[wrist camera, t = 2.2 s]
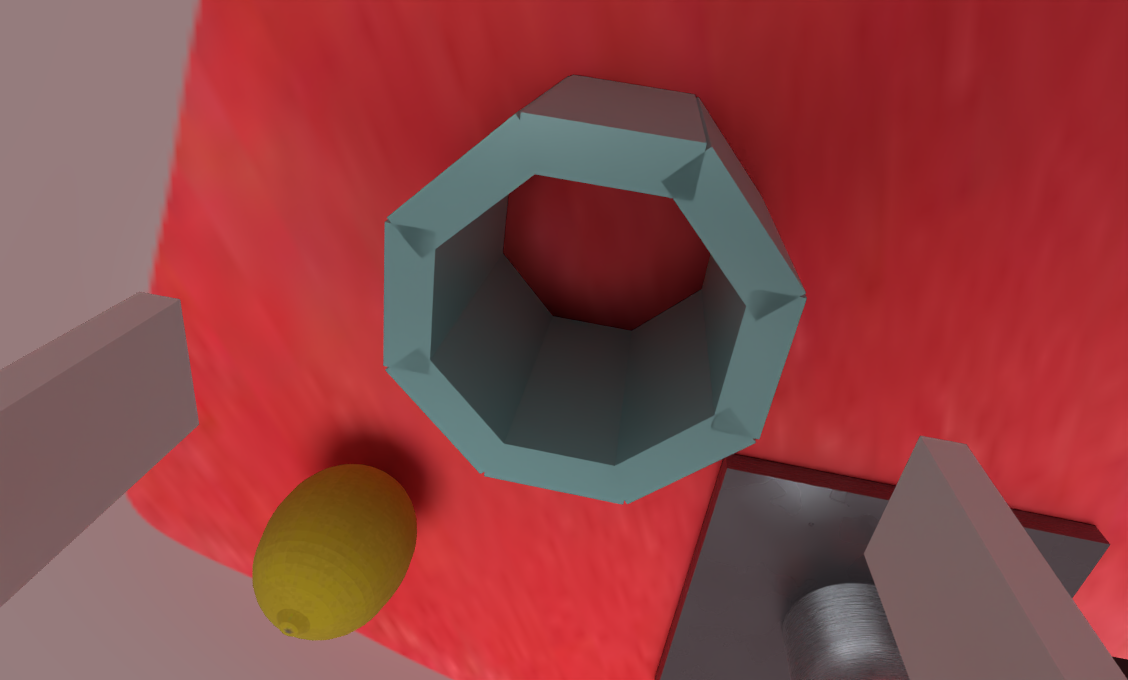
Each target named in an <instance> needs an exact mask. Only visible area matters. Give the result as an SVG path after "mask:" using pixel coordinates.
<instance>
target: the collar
mask: <svg viewBox="0 0 1128 680" xmlns="http://www.w3.org/2000/svg"><path fill="white" fill-rule="evenodd" d="M534 174H536V175H542V176H548V177H554V178H559V179H565V180H571V181H577V182H582V183H588V184H594V185H600V186H606V187H611V188H617V189H623V190H629V191H634V192H640V193H646V194H652V195H658V196H663V197H669V198H673V199H674V201H675V202H676V204H677V205H678V207H679V208H680V210H681V211H682V212H683V214H684V215H685V217H686V218H687V220H688V221H689V223H690V224H691V226H692V227H693V229H694V230H695V232H696V233H697V234H698V236H699V237H700V239H701V240H702V242H703V243H704V245H705V246H706V248H707V249H708V251H709V252H710V258H709V262H708V266H707V270H706V274H705V278H704V282H703V286H702V289H701V290H699V291H698V292H696V293H694V294H693V295H691V296H689V297H688V298H686V299H684V300H683V301H681V302H679V303H678V304H676V305H674V306H673V307H671V308H669V309H667V310H666V311H664V312H662V313H661V314H659V315H657V316H656V317H654V318H652V319H651V320H649V321H647V322H646V323H644V324H642V325H641V326H639V327H637V328H636V329H634V330H632V331H630V330H625V329H619V328H614V327H609V326H603V325H598V324H593V323H587V322H582V321H577V320H571V319H566V318H561V317H555V316H552V314H551V313H550V312H549V311H548V309H547V308H546V307H545V306H544V304H543V303H542V302H541V301H540V299H539V298H538V297H537V295H536V294H535V293H534V292H533V290H532V289H531V288H530V287H529V285H528V284H527V283H526V282H525V280H524V279H523V278H522V277H521V275H520V274H519V273H518V272H517V270H516V269H515V268H514V267H513V265H512V264H511V263H510V261H509V260H508V259H507V258H506V256H505V255H504V254H503V246H504V236H505V225H506V215H507V205H508V195H509V193H511V192H512V191H513V190H515V189H516V188H517V187H519V186H520V185H521V184H523V183H524V182H525V181H527V180H528V179H529V178H530V177H532V176H533V175H534ZM387 218H388V220H387V221H385V245H384V363H383V366H387V369H386V371H387V373H388V374H389V375H390V376H391V377H392V378H393V379H394V380H395V381H396V382H397V383H398V385H399V386H400V387H401V388H402V389H403V390H404V391H405V392H406V393H407V394H408V395H409V397H410V398H411V399H412V400H413V401H414V402H415V403H416V404H417V405H418V406H419V407H420V409H421V410H422V411H423V412H424V413H425V414H426V415H427V416H428V417H429V418H430V419H431V421H432V422H433V423H434V424H435V425H436V426H437V427H438V428H439V429H440V430H441V432H442V433H443V434H444V435H445V436H446V437H447V438H448V439H449V440H450V441H451V442H452V444H453V445H454V446H455V447H456V448H457V449H458V450H459V451H460V452H461V453H462V454H463V456H464V457H465V458H466V459H467V460H468V461H469V462H470V463H471V464H472V465H473V466H474V468H475V469H476V470H477V471H478V472H479V473H480V474H481V473H483V472H485V474H484V476H486V477H491V478H496V479H501V480H506V481H511V482H515V483H520V484H525V485H530V486H535V487H540V488H545V489H550V490H554V491H559V492H564V493H569V494H574V495H579V496H584V497H589V498H593V499H598V500H603V501H608V502H613V503H618V504H623V503H624V500H625V502H626V503H627V504H629V503H631V502H633V501H635V500H637V499H639V498H641V497H644V496H646V495H648V494H650V493H652V492H654V491H656V490H658V489H660V488H662V487H664V486H667V485H669V484H671V483H673V482H675V481H677V480H679V479H681V478H683V477H685V476H687V475H690V474H692V473H694V472H696V471H698V470H700V469H702V468H704V467H706V466H708V465H711V464H713V463H715V462H717V461H719V460H721V459H723V458H725V457H727V456H729V455H731V454H734V453H736V452H738V451H740V450H742V449H744V448H746V447H748V446H750V445H752V444H755V443H756V441H755V439H759V438H760V435H761V433H762V430H763V427H764V424H765V421H766V418H767V415H768V412H769V409H770V406H771V403H772V400H773V397H774V394H775V391H776V388H777V385H778V382H779V379H780V376H781V373H782V370H783V367H784V364H785V361H786V358H787V356H788V353H789V350H790V347H791V344H792V341H793V338H794V335H795V332H796V329H797V326H798V323H799V320H800V317H801V314H802V311H803V308H804V305H805V302H806V299H807V298H806V295H805V294H806V292H805V289H804V287H803V285H802V283H801V281H800V279H799V276H798V274H797V272H796V270H795V268H794V266H793V263H792V261H791V259H790V257H789V255H788V252H787V250H786V248H785V246H784V244H783V242H782V239H781V237H780V235H779V233H778V231H777V229H776V226H775V224H774V222H773V220H772V218H771V215H770V213H769V211H768V209H767V207H766V205H765V202H764V200H763V198H762V196H761V195H760V193H759V192H758V190H757V188H756V187H755V185H754V184H753V182H752V180H751V179H750V177H749V176H748V174H747V173H746V171H745V169H744V168H743V166H742V165H741V163H740V162H739V160H738V158H737V157H736V155H735V154H734V152H733V150H732V149H731V147H730V146H729V144H728V143H727V141H726V139H725V138H724V136H723V135H722V133H721V132H720V130H719V128H718V127H717V125H716V124H715V122H714V121H713V119H712V117H711V116H710V114H709V113H708V111H707V109H706V108H705V106H704V105H703V103H702V102H701V100H700V98H699V97H697V98H696V97H695V94H690V93H684V92H677V91H671V90H665V89H659V88H653V87H647V86H641V85H634V84H628V83H622V82H616V81H610V80H604V79H597V78H591V77H585V76H579V75H572V76H568V77H566V78H565V79H564V80H562V81H561V82H559V83H558V84H557V85H555V86H554V87H552V88H551V89H549V90H548V91H547V92H545V93H544V94H542V95H541V96H539V97H538V98H537V99H535V100H534V101H532V102H531V103H530V104H528V105H527V106H525V107H524V108H522V109H521V110H520V111H518V112H517V113H515V114H514V115H513V116H512V117H510V118H509V119H508V120H507V121H505V122H504V123H503V124H502V125H500V126H499V127H498V128H497V129H496V130H494V131H493V132H492V133H491V134H489V135H488V136H487V137H486V138H484V139H483V140H482V141H481V142H479V143H478V144H477V145H476V146H475V147H473V148H472V149H471V150H470V151H468V152H467V153H466V154H465V155H463V156H462V157H461V158H460V159H458V160H457V161H456V162H455V163H453V164H452V165H451V166H450V167H449V168H447V169H446V170H445V171H444V172H442V173H441V174H440V175H439V176H437V177H436V178H435V179H434V180H432V181H431V182H430V183H429V184H428V185H426V186H425V187H424V188H423V189H421V190H420V191H419V192H418V193H416V194H415V195H414V196H413V197H411V198H410V199H409V200H408V201H407V202H405V203H404V204H403V205H402V206H400V207H399V208H398V209H397V210H395V211H394V212H393V213H392V214H390V215H389V216H388V217H387Z"/></svg>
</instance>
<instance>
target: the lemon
mask: <svg viewBox="0 0 1128 680" xmlns="http://www.w3.org/2000/svg"><path fill="white" fill-rule="evenodd" d="M416 538H417V522H416V515H415V511H414V508H413V505H412V501H411V499H410V498H409V496H408V494H407V493H406V491H405V489H404V488H403V487H402V486H401V485H400V484H399V483H398V482H397V481H396V479H394V478H393V477H392V476H390V475H389V474H387V473H386V472H384V471H382V470H379V469H377V468H375V467H371V466H367V465H363V464H343V465H338V466H334V467H330V468H326V469H324V470H322V471H320V472H318V473H316V474H314V475H312V476H311V477H309V478H307V479H306V480H304V481H303V482H302V483H300V484H299V485H298V486H297V487H296V488H295V489H294V490H293V491H292V492H291V493H290V494H289V495H288V496H287V497H286V498H285V499H284V500H283V502H282V503H281V504H280V505H279V506H278V508H277V509H276V510H275V512H274V513H273V515H272V517H271V518H270V520H269V522H268V524H267V526H266V528H265V530H264V533H263V535H262V538H261V540H260V542H259V545H258V547H257V550H256V553H255V557H254V562H253V588H254V592H255V595H256V598H257V602H258V604H259V606H260V608H261V609H262V611H263V613H264V614H265V616H266V617H267V618H268V619H269V620H270V621H271V622H272V623H273V624H274V625H275V626H276V627H277V628H279V629H280V631H281V632H282V633H283V634H285V635H287V636H294V637H297V638H301V639H307V640H329V639H333V638H337V637H341V636H344V635H347V634H349V633H351V632H353V631H354V630H356V629H358V628H360V627H361V626H363V625H365V624H366V623H367V622H368V621H370V620H371V619H372V618H373V617H374V616H375V615H376V614H377V613H378V612H379V611H380V610H381V608H382V607H383V606H384V605H385V604H386V603H387V602H388V600H389V599H390V598H391V597H392V595H393V594H394V593H395V592H396V590H397V589H398V587H399V586H400V584H401V582H402V580H403V579H404V577H405V574H406V572H407V570H408V567H409V564H410V562H411V559H412V556H413V553H414V550H415V545H416Z"/></svg>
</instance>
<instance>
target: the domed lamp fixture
mask: <svg viewBox="0 0 1128 680" xmlns="http://www.w3.org/2000/svg"><path fill="white" fill-rule="evenodd" d="M895 487H896V486H893V485H888V484H883V483H878V482H873V481H868V480H862V479H857V478H852V477H847V476H842V475H837V474H832V473H827V472H822V471H817V470H812V469H807V468H802V467H797V466H792V465H787V464H782V463H777V462H772V461H766V460H761V459H756V458H751V457H746V456H741V455H736V454H731V455H729V456H727V457H725V458H723V461H722V465H721V468H720V471H719V474H718V477H717V481H716V484H715V487H714V490H713V493H712V497H711V500H710V503H709V506H708V509H707V513H706V516H705V519H704V522H703V526H702V529H701V532H700V535H699V538H698V542H697V545H696V548H695V551H694V554H693V558H692V561H691V564H690V567H689V570H688V574H687V577H686V580H685V583H684V586H683V590H682V593H681V596H680V599H679V603H678V606H677V609H676V612H675V615H674V619H673V622H672V625H671V628H670V631H669V635H668V638H667V641H666V644H665V647H664V651H663V654H662V657H661V660H660V664H659V667H658V670H657V673H656V676H655V680H910V679H909V676H908V673H907V671H906V668H905V665H904V662H903V660H902V657H901V654H900V652H899V649H898V646H897V643H896V641H895V638H894V635H893V632H892V630H891V627H890V624H889V621H888V619H887V616H886V613H885V610H884V608H883V605H882V602H881V600H880V597H879V594H878V591H877V589H876V586H875V583H874V580H873V578H872V575H871V572H870V569H869V567H868V564H867V561H866V558H865V556H864V552H865V550H866V548H867V546H868V544H869V542H870V540H871V537H872V535H873V533H874V531H875V529H876V527H877V525H878V523H879V521H880V519H881V517H882V514H883V512H884V510H885V508H886V506H887V504H888V502H889V500H890V498H891V496H892V494H893V491H894V489H895ZM1011 510H1012V512H1013V513H1014V515H1015V516H1016V518H1017V519H1018V521H1019V522H1020V523H1021V525H1022V526H1023V528H1024V529H1025V531H1026V532H1027V534H1028V535H1029V537H1030V538H1031V539H1032V541H1033V542H1034V544H1035V545H1036V547H1037V548H1038V550H1039V551H1040V553H1041V554H1042V556H1043V557H1044V558H1045V560H1046V561H1047V563H1048V564H1049V566H1050V567H1051V569H1052V570H1053V572H1054V573H1055V575H1056V576H1057V577H1058V579H1059V580H1060V582H1061V583H1062V585H1063V586H1064V588H1065V589H1066V591H1067V592H1068V593H1069V595H1070V596H1071V598H1073V596H1074V595H1075V594H1076V592H1077V591H1078V589H1079V588H1080V587H1081V585H1082V584H1083V582H1084V581H1085V580H1086V578H1087V577H1088V575H1089V574H1090V573H1091V571H1092V570H1093V568H1094V567H1095V565H1096V564H1097V563H1098V561H1099V560H1100V558H1101V557H1102V556H1103V554H1104V553H1105V551H1106V550H1107V549H1108V547H1109V546H1110V544H1109V542H1108V541H1107V540H1106V539H1105V537H1104V536H1103V535H1102V534H1101V532H1100V531H1099V530H1098V529H1097V527H1096V526H1095V525H1090V524H1085V523H1080V522H1075V521H1070V520H1065V519H1060V518H1055V517H1050V516H1044V515H1039V514H1034V513H1029V512H1024V511H1019V510H1014V509H1011Z"/></svg>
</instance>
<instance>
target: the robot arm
mask: <svg viewBox="0 0 1128 680" xmlns="http://www.w3.org/2000/svg"><path fill="white" fill-rule="evenodd" d="M198 425H199V421H198V414H197V408H196V401H195V394H194V388H193V381H192V375H191V368H190V362H189V355H188V348H187V342H186V335H185V329H184V322H183V316H182V309H181V302H180V299H176V298H170V297H165V296H160V295H154V294H149V293H143V292H138V293H136V294H135V295H133V296H131V297H129V298H128V299H126V300H124V301H122V302H120V303H119V304H117V305H115V306H113V307H112V308H110V309H108V310H106V311H104V312H103V313H101V314H99V315H97V316H96V317H94V318H92V319H90V320H88V321H86V322H85V323H83V324H81V325H79V326H78V327H76V328H74V329H72V330H70V331H69V332H67V333H65V334H63V335H62V336H60V337H58V338H56V339H55V340H53V341H51V342H49V343H47V344H46V345H44V346H42V347H40V348H39V349H37V350H35V351H33V352H31V353H29V354H28V355H26V356H24V357H22V358H20V359H19V360H17V361H15V362H14V363H12V364H10V365H8V366H6V367H5V368H3V369H1V370H0V607H1V606H2V605H3V604H4V603H5V602H7V601H8V600H9V599H10V598H11V597H12V596H13V595H14V594H15V593H16V592H17V591H19V590H20V589H21V588H22V587H23V586H24V585H25V584H26V583H27V582H28V581H29V580H30V579H32V578H33V577H34V576H35V575H36V574H37V573H38V572H39V571H40V570H41V569H43V568H44V567H45V566H46V565H47V564H48V563H49V562H50V561H51V560H52V559H53V558H54V557H55V556H57V555H58V554H59V553H60V552H61V551H62V550H63V549H64V548H65V547H66V546H68V545H69V544H70V543H71V542H72V541H73V540H74V539H75V538H76V537H77V536H78V535H79V534H80V533H82V532H83V531H84V530H85V529H86V528H87V527H88V526H89V525H90V524H91V523H93V522H94V521H95V520H96V519H97V518H98V517H99V516H100V515H101V514H102V513H103V512H104V511H106V509H108V508H109V507H110V506H111V505H112V504H113V503H114V502H115V501H116V500H117V499H119V498H120V497H121V496H122V495H123V494H124V493H125V492H126V491H127V490H128V489H129V488H131V487H132V486H133V485H134V484H135V483H136V482H137V481H138V480H139V479H140V478H141V477H142V476H144V475H145V474H146V473H147V472H148V471H149V470H150V469H151V468H152V467H153V466H154V465H156V464H157V463H158V462H159V461H160V460H161V459H162V458H163V457H164V456H165V455H166V454H167V453H169V452H170V451H171V450H172V449H173V448H174V447H175V446H176V445H177V444H178V443H179V442H181V441H182V440H183V439H184V438H185V437H186V436H187V435H188V434H189V433H190V432H191V431H192V430H194V429H195V428H196V427H197V426H198ZM864 556H865V558H866V561H867V564H868V567H869V569H870V572H871V575H872V578H873V580H874V583H875V586H876V589H877V591H878V594H879V597H880V600H881V602H882V605H883V608H884V610H885V613H886V616H887V619H888V621H889V624H890V627H891V630H892V632H893V635H894V638H895V641H896V643H897V646H898V649H899V652H900V654H901V657H902V660H903V662H904V665H905V668H906V671H907V673H908V676H909V679H910V680H1128V660H1127V659H1122V658H1117V657H1112V656H1111V655H1110V653H1109V652H1108V650H1107V649H1106V647H1105V646H1104V645H1103V643H1102V642H1101V640H1100V639H1099V637H1098V636H1097V634H1096V633H1095V631H1094V630H1093V629H1092V627H1091V626H1090V624H1089V623H1088V621H1087V620H1086V618H1085V617H1084V615H1083V614H1082V612H1081V611H1080V610H1079V608H1078V607H1077V605H1076V604H1075V602H1074V601H1073V599H1072V598H1071V596H1070V595H1069V593H1068V592H1067V591H1066V589H1065V588H1064V586H1063V585H1062V583H1061V582H1060V580H1059V579H1058V577H1057V576H1056V575H1055V573H1054V572H1053V570H1052V569H1051V567H1050V566H1049V564H1048V563H1047V561H1046V560H1045V558H1044V557H1043V556H1042V554H1041V553H1040V551H1039V550H1038V548H1037V547H1036V545H1035V544H1034V542H1033V541H1032V539H1031V538H1030V537H1029V535H1028V534H1027V532H1026V531H1025V529H1024V528H1023V526H1022V525H1021V523H1020V522H1019V521H1018V519H1017V518H1016V516H1015V515H1014V513H1013V512H1012V510H1011V509H1010V507H1009V506H1008V504H1007V503H1006V502H1005V500H1004V499H1003V497H1002V496H1001V494H1000V493H999V491H998V490H997V488H996V487H995V485H994V484H993V483H992V481H991V480H990V478H989V477H988V475H987V474H986V472H985V471H984V469H983V468H982V467H981V465H980V464H979V462H978V461H977V459H976V458H975V456H974V455H973V453H972V452H971V450H970V449H969V448H968V446H967V445H966V444H962V443H957V442H952V441H946V440H941V439H935V438H930V437H925V436H920V437H919V439H918V441H917V443H916V446H915V448H914V450H913V452H912V454H911V456H910V458H909V460H908V462H907V464H906V466H905V469H904V471H903V473H902V475H901V477H900V479H899V481H898V483H897V485H896V487H895V489H894V491H893V494H892V496H891V498H890V500H889V502H888V504H887V506H886V508H885V510H884V512H883V514H882V517H881V519H880V521H879V523H878V525H877V527H876V529H875V531H874V533H873V535H872V537H871V540H870V542H869V544H868V546H867V548H866V550H865V552H864Z"/></svg>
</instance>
